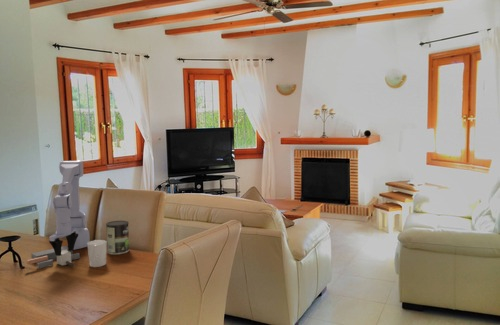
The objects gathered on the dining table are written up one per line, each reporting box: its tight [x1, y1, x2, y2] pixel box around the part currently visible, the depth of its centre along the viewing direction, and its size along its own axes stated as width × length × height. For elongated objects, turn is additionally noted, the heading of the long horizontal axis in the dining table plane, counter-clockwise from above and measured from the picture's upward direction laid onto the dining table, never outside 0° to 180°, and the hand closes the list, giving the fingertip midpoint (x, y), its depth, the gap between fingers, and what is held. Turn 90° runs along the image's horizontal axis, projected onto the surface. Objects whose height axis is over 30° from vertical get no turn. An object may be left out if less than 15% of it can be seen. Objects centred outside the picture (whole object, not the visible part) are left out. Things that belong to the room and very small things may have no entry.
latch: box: [26, 256, 48, 265], centre depth 170 cm, size 8×1×2 cm, turn 139°
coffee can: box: [105, 220, 130, 256], centre depth 193 cm, size 10×10×14 cm
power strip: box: [30, 244, 81, 270], centre depth 181 cm, size 18×13×4 cm
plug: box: [56, 250, 76, 267], centre depth 174 cm, size 5×11×5 cm, turn 49°
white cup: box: [87, 239, 107, 268], centre depth 174 cm, size 8×8×10 cm
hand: (64, 252), depth 175 cm, fingers open, 7 cm apart
